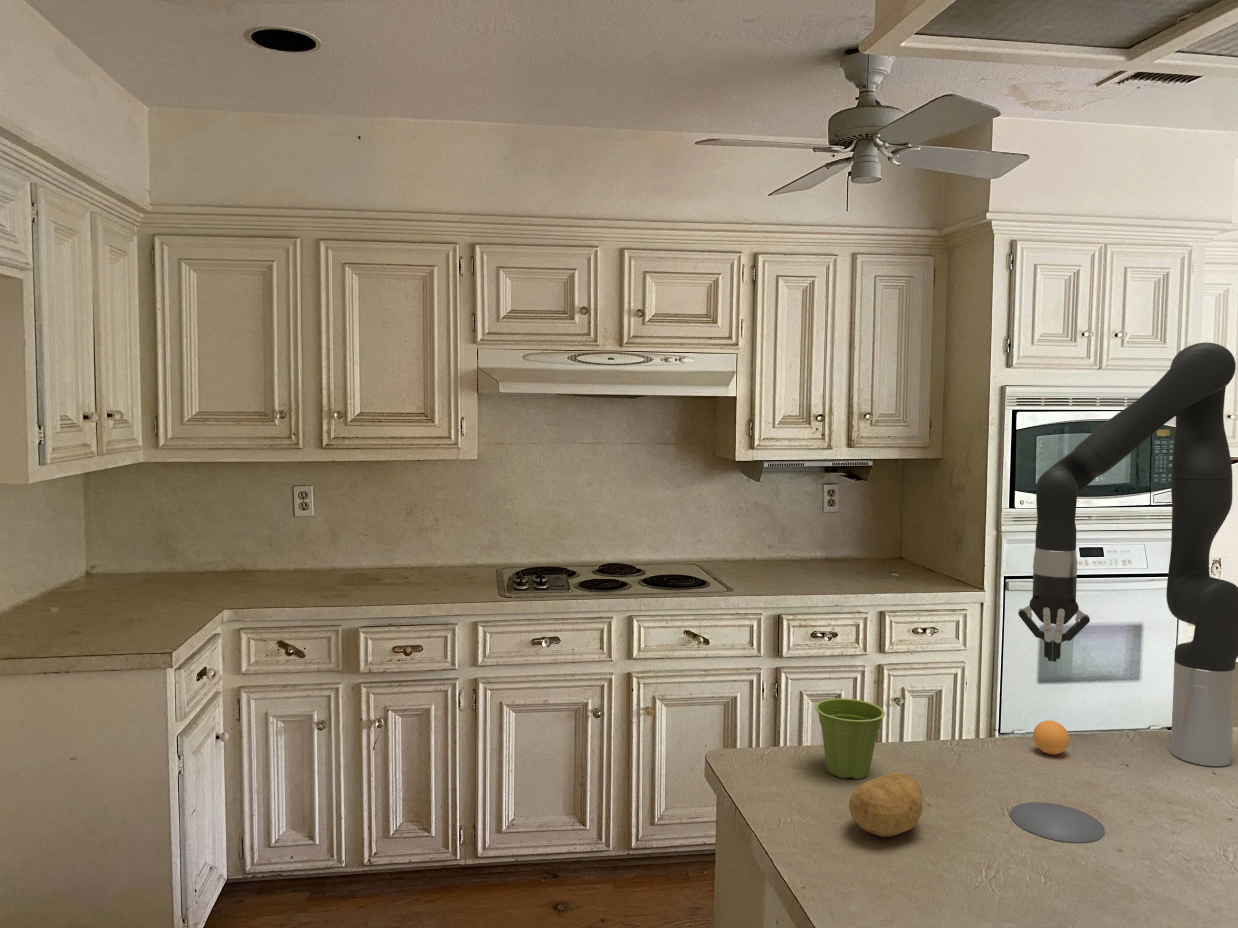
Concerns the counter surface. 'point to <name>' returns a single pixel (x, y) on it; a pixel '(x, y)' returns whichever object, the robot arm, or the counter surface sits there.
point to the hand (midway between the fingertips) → (1052, 660)
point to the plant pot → (849, 735)
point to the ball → (1051, 737)
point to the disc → (1057, 822)
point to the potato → (887, 804)
